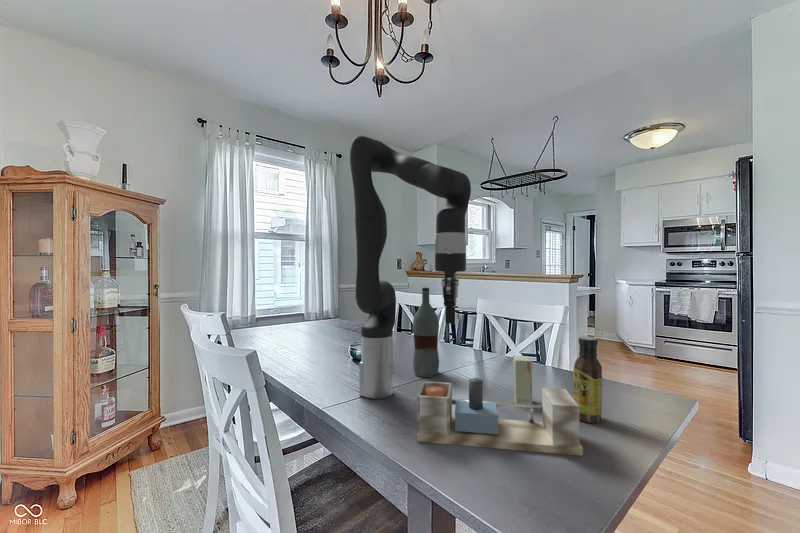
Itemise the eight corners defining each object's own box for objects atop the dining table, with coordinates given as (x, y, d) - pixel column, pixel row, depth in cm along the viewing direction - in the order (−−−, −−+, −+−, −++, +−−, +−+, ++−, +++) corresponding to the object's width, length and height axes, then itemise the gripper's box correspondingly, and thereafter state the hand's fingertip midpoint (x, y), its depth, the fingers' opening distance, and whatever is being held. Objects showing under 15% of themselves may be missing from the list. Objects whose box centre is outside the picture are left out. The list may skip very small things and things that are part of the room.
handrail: (452, 417, 85) (451, 400, 85) (452, 415, 86) (452, 398, 86) (542, 424, 81) (542, 406, 81) (541, 421, 82) (541, 404, 82)
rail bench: (416, 441, 76) (416, 397, 76) (423, 419, 87) (422, 380, 87) (583, 455, 70) (582, 407, 70) (567, 430, 81) (567, 388, 81)
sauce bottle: (567, 413, 90) (567, 335, 90) (591, 412, 91) (590, 334, 91) (583, 425, 84) (582, 340, 84) (608, 423, 84) (607, 339, 84)
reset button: (425, 410, 79) (425, 392, 79) (427, 403, 83) (427, 386, 83) (443, 411, 79) (443, 393, 79) (444, 404, 83) (444, 387, 83)
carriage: (455, 430, 77) (454, 384, 77) (456, 417, 84) (455, 374, 84) (498, 434, 75) (498, 386, 75) (495, 420, 82) (495, 376, 82)
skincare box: (532, 407, 94) (532, 361, 94) (515, 406, 95) (515, 360, 95) (529, 399, 100) (528, 355, 100) (512, 397, 101) (512, 354, 101)
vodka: (435, 378, 118) (434, 288, 118) (409, 376, 122) (408, 288, 122) (442, 371, 127) (441, 287, 127) (417, 368, 130) (417, 286, 130)
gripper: (437, 253, 94) (437, 318, 94) (431, 251, 81) (431, 327, 81) (466, 253, 93) (466, 319, 93) (465, 251, 80) (464, 328, 80)
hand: (450, 322), depth 87 cm, fingers closed
